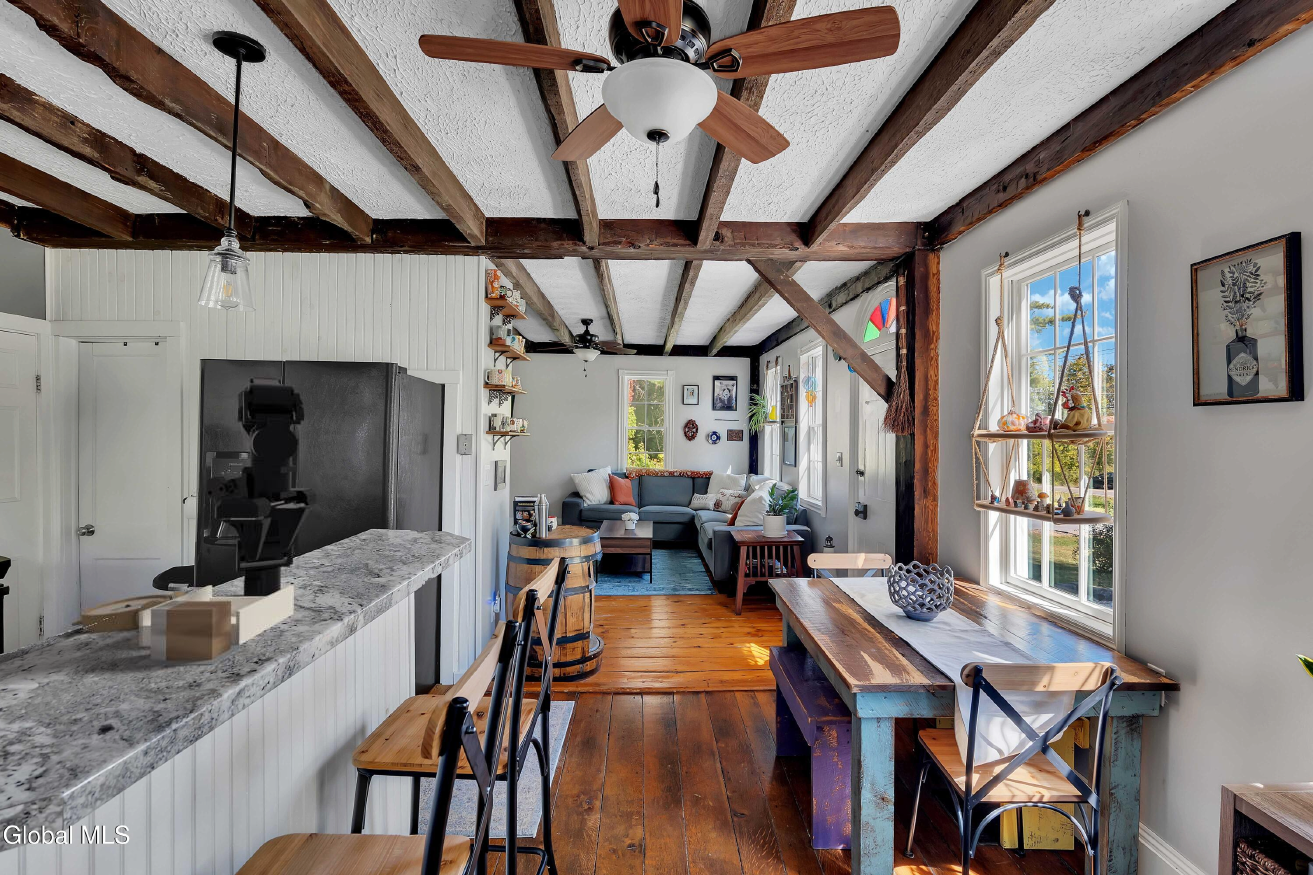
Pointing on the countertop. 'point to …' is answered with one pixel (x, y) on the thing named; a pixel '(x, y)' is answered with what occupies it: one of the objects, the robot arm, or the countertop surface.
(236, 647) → the slate mat
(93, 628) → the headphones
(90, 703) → the countertop surface
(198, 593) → the drawer
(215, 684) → the countertop surface
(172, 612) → the walnut block
